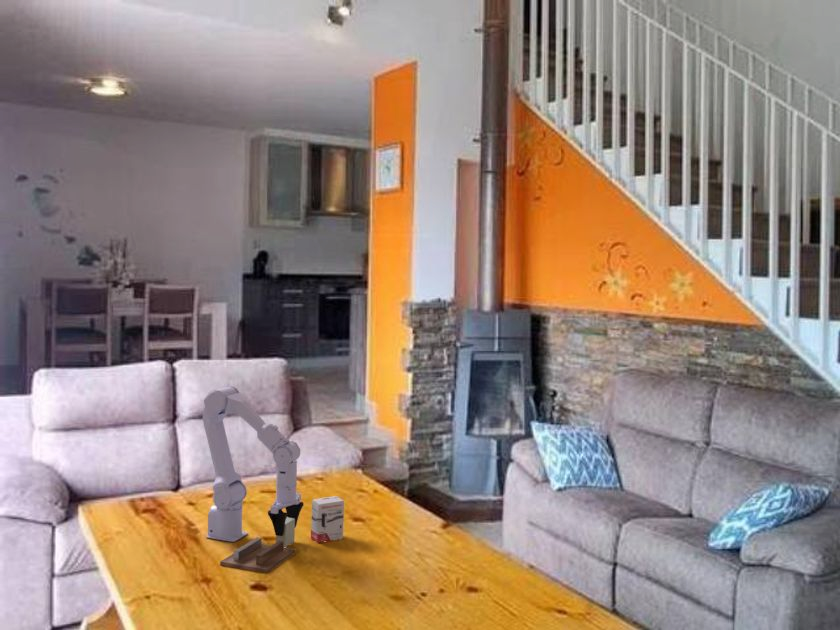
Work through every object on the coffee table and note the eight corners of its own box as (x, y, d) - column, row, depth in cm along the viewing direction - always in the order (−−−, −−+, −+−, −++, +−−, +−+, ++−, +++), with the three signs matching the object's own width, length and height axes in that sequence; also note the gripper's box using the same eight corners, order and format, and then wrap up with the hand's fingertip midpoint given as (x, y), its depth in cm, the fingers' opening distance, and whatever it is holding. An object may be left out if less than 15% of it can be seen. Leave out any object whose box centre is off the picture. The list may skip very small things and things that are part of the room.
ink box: (317, 543, 226) (318, 503, 226) (310, 538, 230) (311, 499, 230) (343, 539, 231) (344, 499, 230) (336, 534, 235) (337, 495, 234)
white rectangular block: (275, 546, 223) (276, 522, 223) (285, 540, 228) (285, 517, 228) (285, 548, 222) (285, 524, 222) (294, 542, 227) (294, 518, 227)
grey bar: (233, 560, 209) (233, 551, 209) (256, 546, 220) (257, 537, 220) (238, 561, 208) (238, 552, 208) (261, 546, 220) (261, 538, 219)
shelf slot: (220, 565, 208) (220, 552, 208) (251, 545, 223) (252, 533, 223) (266, 573, 203) (266, 560, 203) (295, 552, 218) (295, 540, 218)
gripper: (286, 493, 216) (285, 541, 217) (310, 480, 230) (309, 525, 230) (264, 490, 218) (263, 537, 219) (289, 477, 232) (288, 522, 233)
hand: (285, 531), depth 225 cm, fingers open, 7 cm apart
